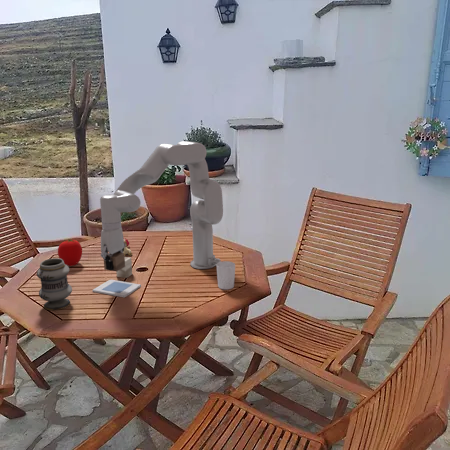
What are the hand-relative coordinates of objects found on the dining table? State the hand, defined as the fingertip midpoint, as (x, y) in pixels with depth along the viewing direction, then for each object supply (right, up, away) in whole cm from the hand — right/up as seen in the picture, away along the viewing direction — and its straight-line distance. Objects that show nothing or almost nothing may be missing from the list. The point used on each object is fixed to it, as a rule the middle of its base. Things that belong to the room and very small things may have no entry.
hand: (114, 266), depth 183 cm
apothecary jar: (-20, -14, -11) cm, 27 cm away
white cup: (+46, -9, +4) cm, 47 cm away
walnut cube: (0, -1, 0) cm, 1 cm away
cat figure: (-10, +4, +53) cm, 54 cm away
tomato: (-29, -2, +31) cm, 43 cm away
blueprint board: (0, -10, +3) cm, 10 cm away
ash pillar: (0, -6, +18) cm, 19 cm away
